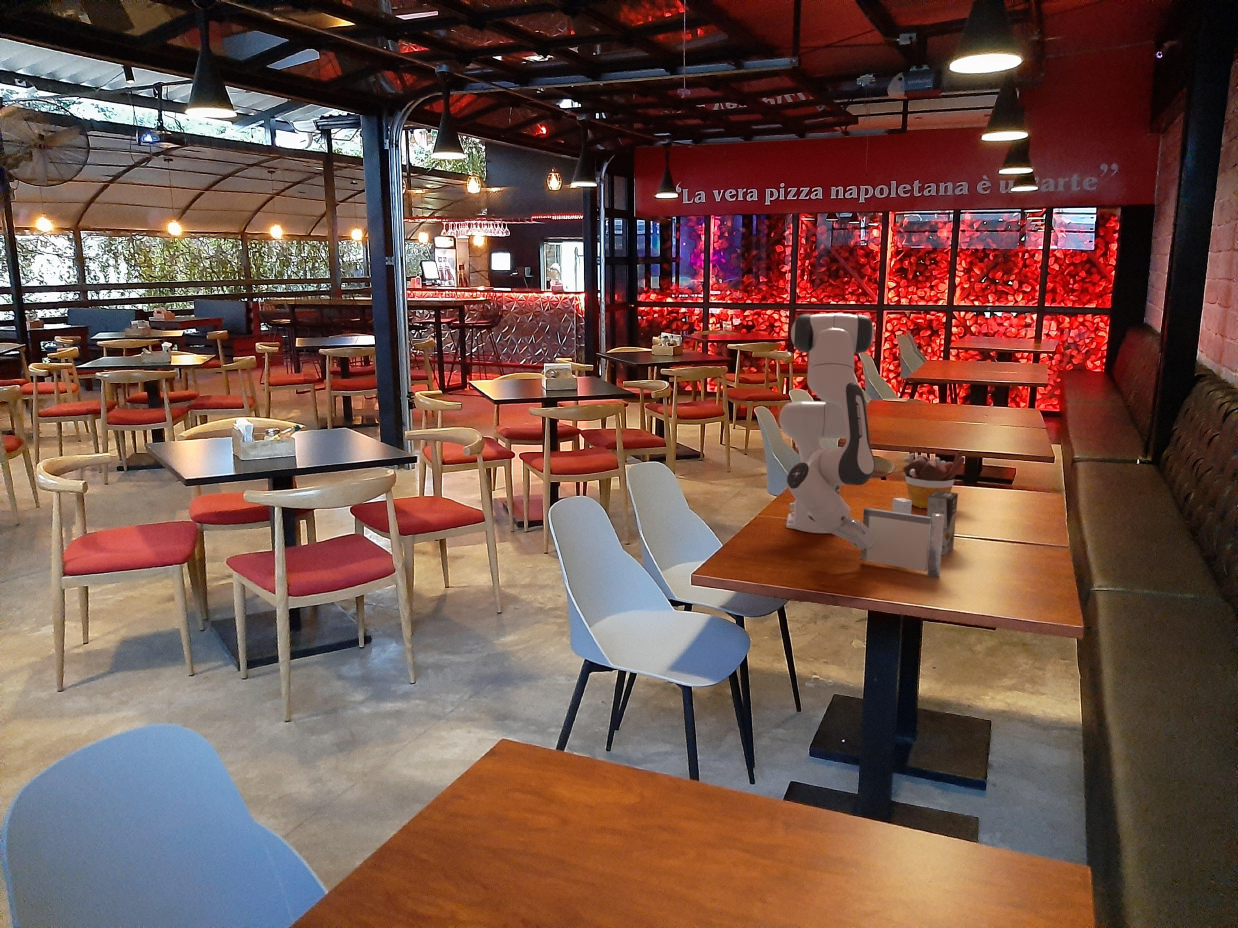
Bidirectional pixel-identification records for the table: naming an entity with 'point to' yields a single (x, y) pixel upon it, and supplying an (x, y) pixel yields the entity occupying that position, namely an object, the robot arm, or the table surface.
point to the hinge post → (935, 545)
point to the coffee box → (947, 507)
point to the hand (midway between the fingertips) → (861, 546)
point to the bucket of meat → (929, 476)
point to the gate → (898, 539)
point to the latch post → (902, 505)
